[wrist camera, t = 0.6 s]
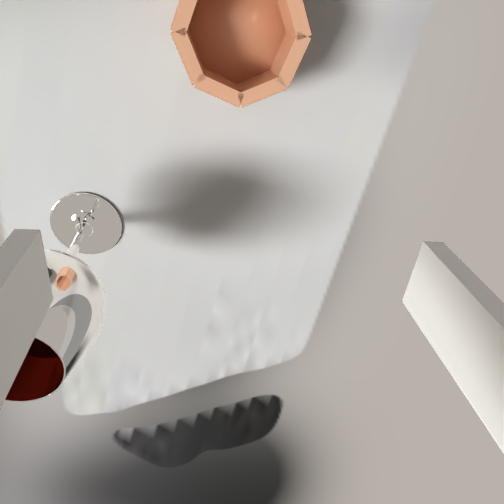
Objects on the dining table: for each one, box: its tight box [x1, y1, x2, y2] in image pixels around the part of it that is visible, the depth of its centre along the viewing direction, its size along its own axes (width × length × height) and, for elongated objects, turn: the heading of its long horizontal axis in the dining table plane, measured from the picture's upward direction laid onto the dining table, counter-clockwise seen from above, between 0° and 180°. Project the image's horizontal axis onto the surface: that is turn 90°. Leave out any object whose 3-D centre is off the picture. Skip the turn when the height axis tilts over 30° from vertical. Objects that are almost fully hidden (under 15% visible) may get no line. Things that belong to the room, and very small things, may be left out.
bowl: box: [170, 0, 312, 107], centre depth 30 cm, size 9×9×5 cm
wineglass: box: [5, 192, 122, 402], centre depth 31 cm, size 8×8×18 cm
